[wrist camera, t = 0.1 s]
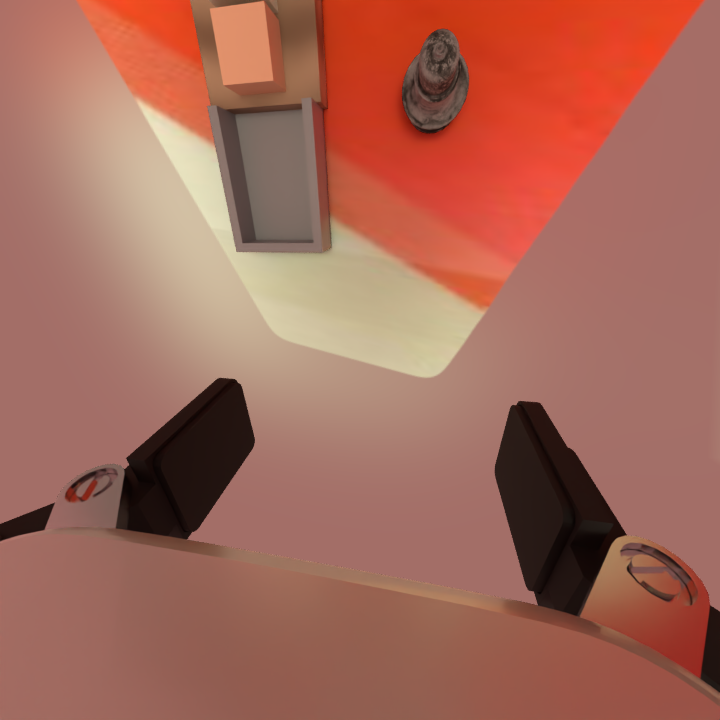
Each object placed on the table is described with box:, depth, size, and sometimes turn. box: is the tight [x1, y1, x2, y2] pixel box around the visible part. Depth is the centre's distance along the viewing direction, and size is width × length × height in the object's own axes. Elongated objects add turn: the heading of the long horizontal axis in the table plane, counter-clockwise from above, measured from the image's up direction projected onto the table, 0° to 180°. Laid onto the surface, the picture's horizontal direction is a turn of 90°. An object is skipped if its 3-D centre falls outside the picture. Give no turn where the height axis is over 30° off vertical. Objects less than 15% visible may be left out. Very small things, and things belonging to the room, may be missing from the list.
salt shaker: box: [402, 29, 469, 133], centre depth 25 cm, size 6×6×12 cm
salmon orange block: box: [210, 1, 286, 96], centre depth 27 cm, size 5×5×3 cm
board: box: [190, 0, 328, 114], centre depth 29 cm, size 12×12×2 cm
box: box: [207, 98, 331, 252], centre depth 34 cm, size 14×11×4 cm
